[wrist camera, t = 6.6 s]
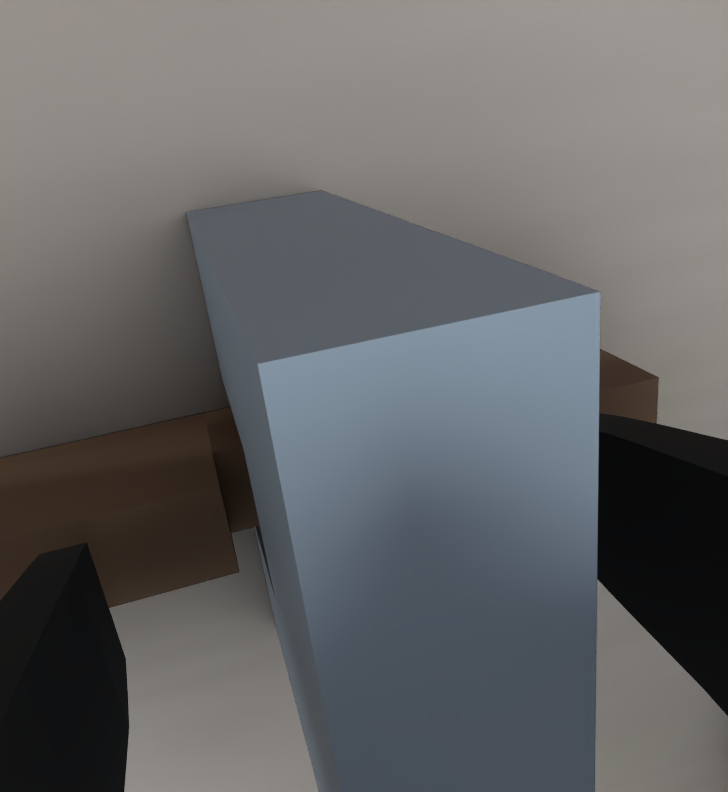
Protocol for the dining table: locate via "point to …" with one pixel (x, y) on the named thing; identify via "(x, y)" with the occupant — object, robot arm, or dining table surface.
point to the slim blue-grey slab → (416, 490)
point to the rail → (173, 495)
